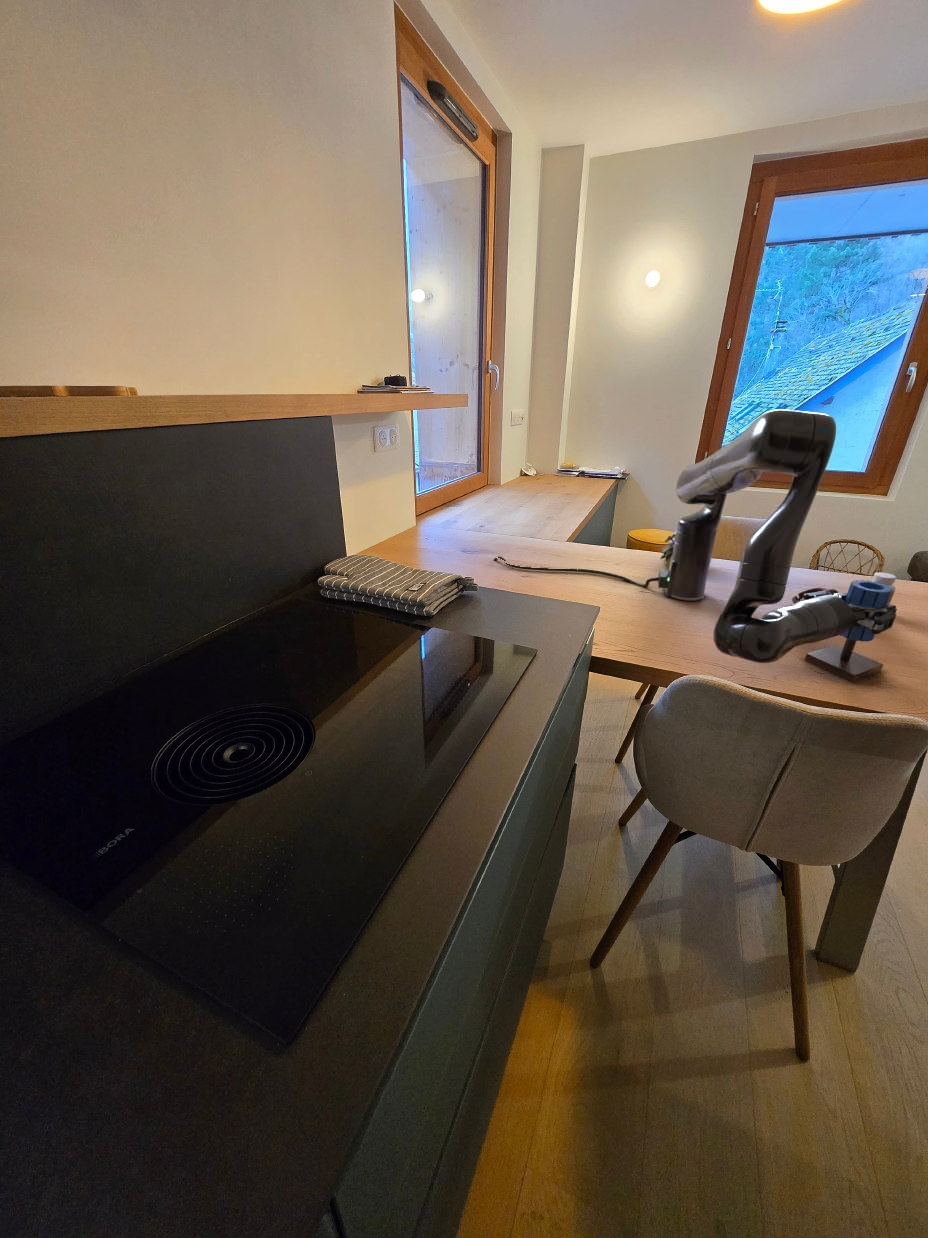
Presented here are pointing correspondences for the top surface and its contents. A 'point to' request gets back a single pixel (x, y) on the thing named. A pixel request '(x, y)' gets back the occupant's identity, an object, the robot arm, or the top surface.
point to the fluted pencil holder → (866, 595)
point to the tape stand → (844, 661)
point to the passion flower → (668, 550)
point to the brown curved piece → (795, 599)
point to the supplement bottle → (885, 581)
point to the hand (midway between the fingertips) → (871, 603)
